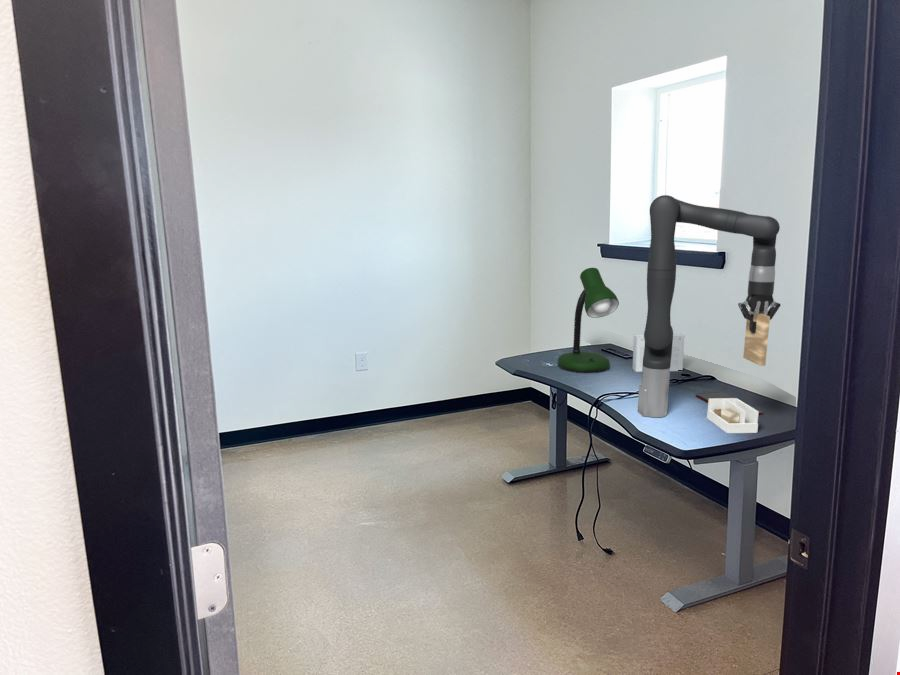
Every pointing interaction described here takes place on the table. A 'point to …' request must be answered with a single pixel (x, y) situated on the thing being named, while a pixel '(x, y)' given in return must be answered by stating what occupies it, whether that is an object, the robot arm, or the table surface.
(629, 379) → the table surface
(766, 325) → the tan rectangular block
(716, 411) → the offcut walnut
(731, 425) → the rack
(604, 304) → the desk lamp
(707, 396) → the smartphone
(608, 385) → the table surface
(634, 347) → the skincare box
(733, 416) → the offcut maple
